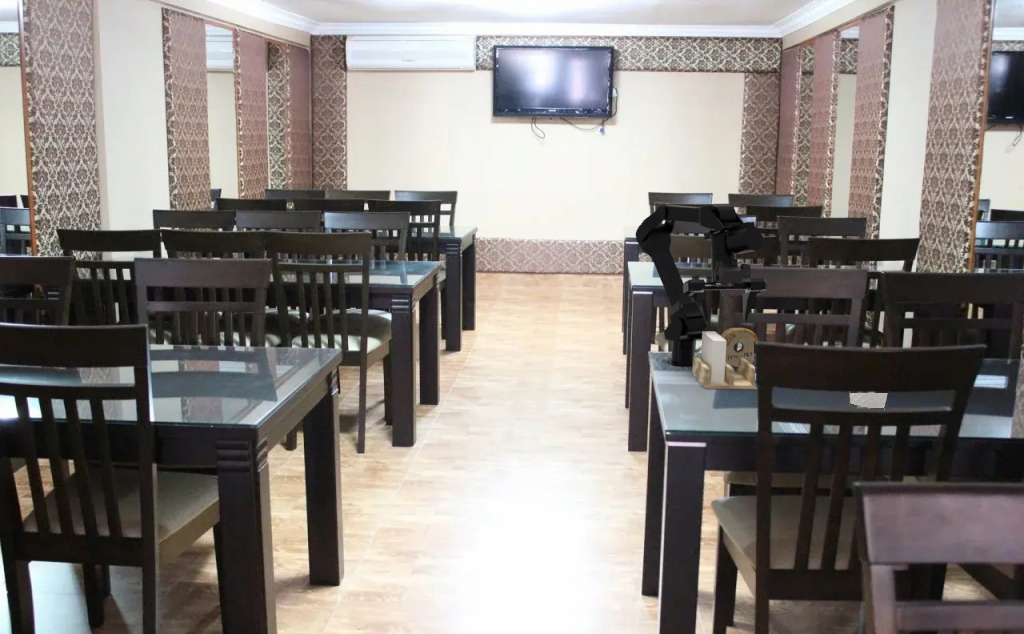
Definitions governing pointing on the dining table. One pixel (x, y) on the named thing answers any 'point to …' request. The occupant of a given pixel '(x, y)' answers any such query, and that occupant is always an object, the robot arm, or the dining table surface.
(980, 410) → the dining table surface
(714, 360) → the white block
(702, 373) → the plate rack
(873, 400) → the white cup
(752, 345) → the stone disc
